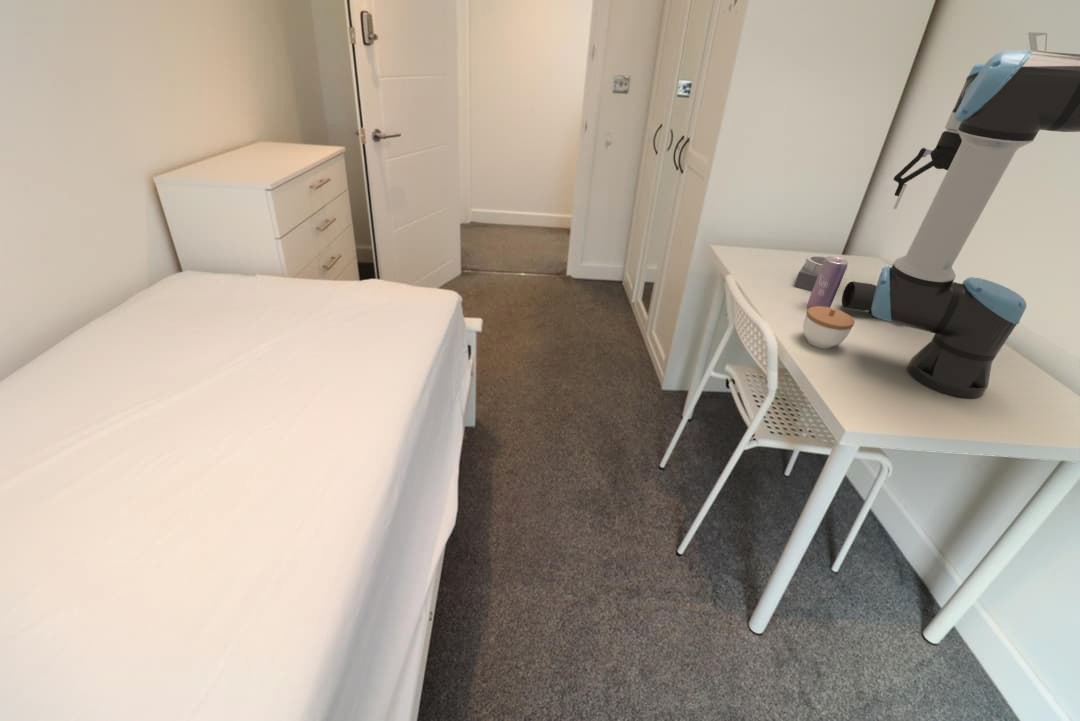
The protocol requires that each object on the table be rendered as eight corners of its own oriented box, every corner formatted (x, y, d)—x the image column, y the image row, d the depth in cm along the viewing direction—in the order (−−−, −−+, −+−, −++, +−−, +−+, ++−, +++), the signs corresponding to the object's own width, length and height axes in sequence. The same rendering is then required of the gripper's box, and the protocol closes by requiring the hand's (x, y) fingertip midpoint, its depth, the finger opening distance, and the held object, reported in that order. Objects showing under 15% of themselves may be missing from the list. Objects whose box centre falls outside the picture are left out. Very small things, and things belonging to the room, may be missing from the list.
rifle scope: (946, 333, 140) (965, 300, 134) (846, 318, 143) (861, 286, 138) (929, 316, 148) (946, 285, 143) (836, 303, 152) (849, 272, 147)
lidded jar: (848, 356, 124) (864, 322, 119) (803, 349, 126) (816, 316, 121) (835, 335, 133) (849, 303, 128) (792, 329, 135) (805, 297, 130)
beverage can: (832, 311, 147) (853, 262, 139) (821, 315, 144) (841, 265, 136) (813, 302, 151) (832, 254, 143) (802, 306, 148) (820, 257, 140)
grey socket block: (827, 295, 156) (837, 271, 152) (793, 286, 161) (802, 262, 156) (834, 282, 166) (843, 259, 162) (802, 274, 171) (810, 251, 166)
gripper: (1018, 138, 129) (974, 220, 141) (906, 124, 141) (874, 201, 152) (1021, 140, 124) (975, 226, 135) (905, 126, 135) (871, 205, 147)
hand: (922, 213), depth 144 cm, fingers open, 13 cm apart
